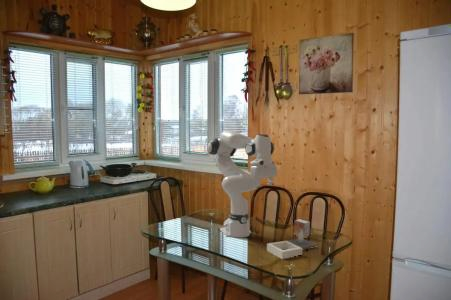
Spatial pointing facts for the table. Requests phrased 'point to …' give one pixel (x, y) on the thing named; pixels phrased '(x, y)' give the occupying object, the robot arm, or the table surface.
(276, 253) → the link
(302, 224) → the small box
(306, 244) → the keeper plate
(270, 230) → the table surface
